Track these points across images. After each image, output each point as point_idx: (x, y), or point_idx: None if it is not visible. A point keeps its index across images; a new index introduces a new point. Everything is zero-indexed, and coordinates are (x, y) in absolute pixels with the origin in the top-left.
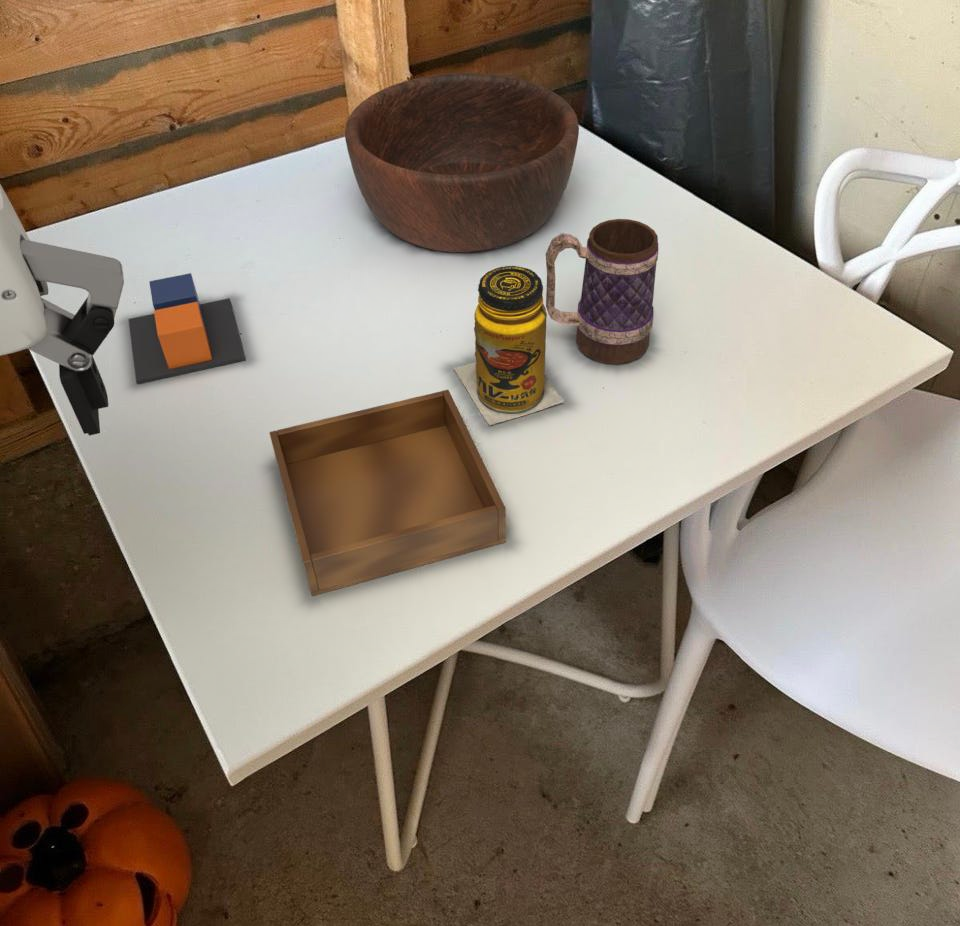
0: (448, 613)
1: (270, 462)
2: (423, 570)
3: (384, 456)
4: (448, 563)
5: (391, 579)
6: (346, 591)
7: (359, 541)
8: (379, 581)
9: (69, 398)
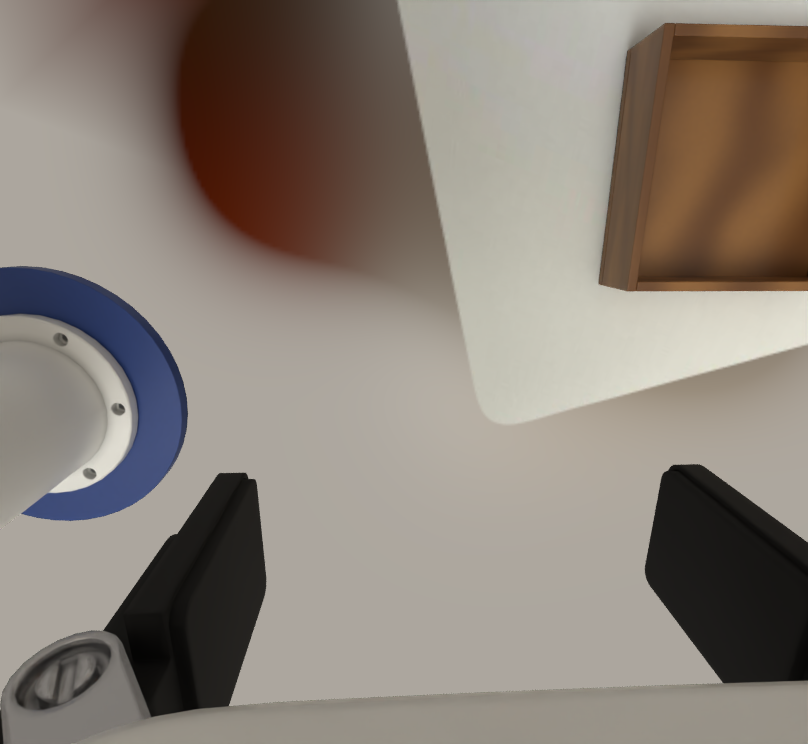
0: (709, 349)
1: (620, 37)
2: None
3: (760, 95)
4: None
5: None
6: None
7: (673, 232)
8: None
9: (719, 674)
